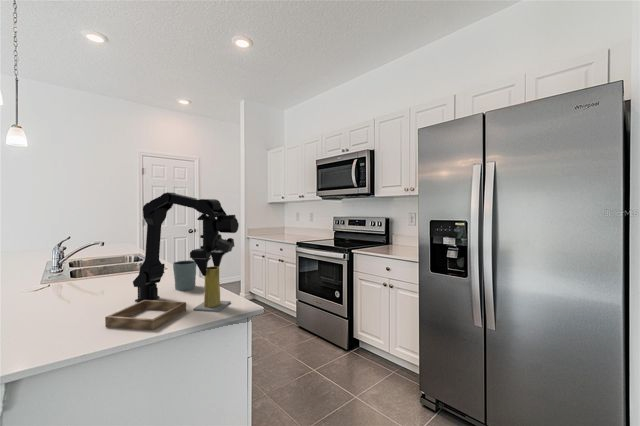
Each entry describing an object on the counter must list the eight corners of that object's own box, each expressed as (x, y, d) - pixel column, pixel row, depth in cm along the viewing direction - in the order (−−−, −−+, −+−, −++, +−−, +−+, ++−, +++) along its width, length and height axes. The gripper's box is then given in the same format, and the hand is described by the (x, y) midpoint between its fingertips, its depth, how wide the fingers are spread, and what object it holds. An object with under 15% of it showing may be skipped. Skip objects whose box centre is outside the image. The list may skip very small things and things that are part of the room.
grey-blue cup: (181, 292, 131) (181, 265, 131) (168, 288, 136) (168, 262, 136) (201, 286, 140) (201, 261, 139) (188, 283, 145) (188, 259, 144)
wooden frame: (105, 326, 95) (105, 317, 95) (144, 307, 112) (144, 299, 112) (153, 329, 92) (153, 320, 92) (185, 310, 109) (185, 302, 109)
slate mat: (193, 310, 109) (193, 308, 109) (207, 301, 119) (207, 299, 119) (218, 311, 108) (218, 310, 108) (230, 302, 118) (230, 301, 118)
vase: (215, 308, 110) (214, 270, 109) (200, 306, 111) (200, 269, 111) (223, 302, 116) (223, 266, 115) (209, 301, 117) (209, 265, 117)
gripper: (218, 235, 102) (218, 280, 103) (240, 230, 121) (240, 268, 121) (188, 234, 104) (189, 278, 104) (215, 229, 122) (215, 267, 123)
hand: (210, 272), depth 113 cm, fingers open, 9 cm apart
